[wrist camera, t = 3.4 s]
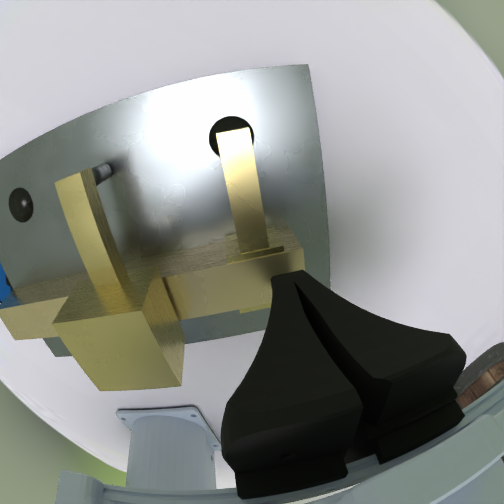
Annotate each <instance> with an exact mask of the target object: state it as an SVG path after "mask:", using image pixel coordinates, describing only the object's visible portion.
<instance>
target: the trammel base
mask: <svg viewBox="0 0 504 504" xmlns="http://www.w3.org/2000/svg"><path fill="white" fill-rule="evenodd" d="M103 163H105V164H108V165H109V166H110V168H111V176H110V178H109V179H107V180H106V181H104V182H102V183H101V184H99V185H98V186H97V190H98V193H99V196H100V199H101V203H102V206H103V209H104V212H105V215H106V218H107V221H108V224H109V227H110V229H111V232H112V235H113V238H114V240H115V243H116V246H117V249H118V251H119V254H120V256H121V259H122V261H123V264H124V266H125V269H126V271H130V270H134V269H139V268H144V267H149V266H153V265H157V267H158V270H159V273H160V275H161V278H162V281H163V283H164V286H165V289H166V291H167V294H168V296H169V299H170V301H171V304H172V306H173V309H174V311H175V314H176V316H177V318H178V321H179V323H180V326H181V328H182V330H183V333H184V335H185V344H189V343H195V342H201V341H207V340H213V339H219V338H224V337H230V336H235V335H240V334H245V333H250V332H255V331H260V330H265V329H266V327H267V324H268V319H269V315H270V310H271V302H272V286H271V280H270V279H271V278H272V276H275V275H280V274H284V273H289V272H294V271H298V270H304V271H306V272H307V273H308V274H310V275H311V276H312V277H313V278H315V279H316V280H317V281H319V282H320V283H321V284H323V285H324V286H326V287H327V288H328V289H330V262H329V239H328V221H327V207H326V194H325V183H324V172H323V162H322V153H321V145H320V137H319V129H318V122H317V115H316V108H315V101H314V95H313V89H312V83H311V77H310V71H309V66H308V64H305V65H288V66H276V67H266V68H257V69H249V70H242V71H236V72H229V73H223V74H218V75H213V76H208V77H203V78H198V79H194V80H189V81H185V82H181V83H177V84H173V85H169V86H165V87H162V88H158V89H155V90H151V91H148V92H145V93H142V94H138V95H135V96H132V97H129V98H126V99H124V100H121V101H118V102H115V103H113V104H110V105H107V106H105V107H102V108H100V109H97V110H95V111H92V112H90V113H87V114H85V115H83V116H80V117H78V118H76V119H74V120H71V121H69V122H67V123H65V124H63V125H61V126H59V127H57V128H55V129H53V130H51V131H49V132H47V133H45V134H43V135H41V136H39V137H38V138H36V139H34V140H32V141H30V142H29V143H27V144H25V145H23V146H22V147H20V148H18V149H17V150H15V151H13V152H12V153H10V154H9V155H7V156H5V157H4V158H2V159H1V160H0V263H1V265H2V267H3V269H4V271H5V274H6V276H7V278H8V280H9V282H10V284H11V286H12V288H13V290H12V291H11V292H10V293H9V295H8V296H7V297H6V298H5V299H4V301H3V302H2V303H1V304H0V318H1V319H2V321H3V322H4V324H5V326H6V327H7V329H8V330H9V332H10V333H11V335H12V336H13V338H14V339H15V340H23V339H37V338H43V340H44V341H45V343H46V344H47V346H48V347H49V348H50V350H51V351H52V353H53V354H54V355H55V357H63V356H72V354H71V353H70V351H69V350H68V348H67V347H66V346H65V344H64V343H63V341H62V340H61V338H60V337H59V335H58V334H57V332H56V330H55V329H54V327H53V326H52V322H53V320H54V319H55V317H56V315H57V314H58V312H59V311H60V309H61V307H62V306H63V304H64V303H65V301H66V300H67V298H68V296H69V295H70V293H71V292H72V290H73V289H74V287H75V286H76V284H77V283H78V282H79V281H84V280H88V279H90V276H89V274H88V272H87V270H86V268H85V265H84V263H83V261H82V258H81V256H80V254H79V251H78V249H77V246H76V244H75V241H74V239H73V236H72V234H71V231H70V228H69V226H68V223H67V220H66V217H65V214H64V212H63V209H62V206H61V203H60V199H59V196H58V193H57V190H56V187H55V182H57V181H59V180H61V179H63V178H65V177H67V176H69V175H72V174H74V173H77V172H79V171H82V170H85V169H87V168H90V167H91V168H93V167H96V166H98V165H100V164H103Z"/></svg>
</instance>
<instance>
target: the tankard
mask: <svg viewBox="0 0 504 504" xmlns="http://www.w3.org/2000/svg"><path fill="white" fill-rule="evenodd" d="M503 380H504V342H502V343H499V344H496V345H494V346H493V347H491V348H490V349H488V350H487V351H486V352H484V353H483V354H482V355H480V356H479V357H478V358H477V359H476V360H475V361H473V362H472V363H471V364H470V365H469V366H468V367H467V368H466V369H465V370H464V371H463V372H462V373H461V375H460V377H459V378H458V380H457V382H456V384H455V385H454V387H453V388H454V389H455V391H456V392H457V394H458V397H457V398H456V399H455V400H456V402H457V403H458V405H459V406H460V408H461V410H462V409H464V408H465V407H467V406H468V405H470V404H471V403H473V402H474V401H476V400H477V399H479V398H480V397H481V396H483V395H484V394H486V393H487V392H488V391H490V390H491V389H492V388H494V387H495V386H496V385H498V384H499V383H500V382H501V381H503ZM501 459H502V461H503V463H504V455H503V456H502V457H501Z"/></svg>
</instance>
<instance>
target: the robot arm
mask: <svg viewBox="0 0 504 504" xmlns="http://www.w3.org/2000/svg"><path fill="white" fill-rule="evenodd" d="M270 280H271V286H272V302H271V310H270V315H269V319H268V324H267V327H266V331H265V334H264V337H263V340H262V343H261V345H260V347H259V350H258V352H257V355H256V357H255V359H254V361H253V363H252V365H251V367H250V368H249V370H248V372H247V374H246V375H245V377H244V379H243V381H242V382H241V384H240V385H239V387H238V388H237V389H236V391H235V392H234V394H233V395H232V396H231V398H230V399H229V400H228V402H227V404H226V408H225V412H224V416H223V421H222V427H221V444H220V442H219V441H218V439H217V438H216V437H215V435H214V434H213V432H212V431H211V429H210V428H209V426H208V425H207V423H206V422H205V420H204V419H203V417H202V416H201V414H200V412H199V411H198V409H197V408H195V407H183V408H171V409H156V410H119V411H117V412H116V416H117V417H118V418H119V419H120V420H121V421H122V422H123V423H124V424H125V425H126V426H127V427H128V428H129V429H130V430H131V431H132V435H131V442H130V450H129V458H128V467H127V477H126V487H121V486H114V485H107V484H103V483H102V482H101V481H99V480H98V479H96V478H94V477H92V476H89V475H86V474H82V473H77V472H72V471H68V470H64V469H63V470H61V472H60V477H59V482H58V488H57V494H56V501H55V504H284V503H289V502H294V501H299V500H303V499H308V498H312V497H316V496H319V495H323V494H327V493H331V492H334V491H337V490H340V489H343V488H347V487H350V486H353V485H356V484H358V485H356V486H354V487H352V488H351V489H348V490H345V491H342V492H340V493H337V494H334V495H331V496H328V497H325V498H322V499H319V500H316V501H312V502H309V503H306V504H504V463H503V461H502V459H501V457H502V456H503V455H504V380H503V381H501V382H500V383H499V384H498V385H496V386H495V387H494V388H492V389H491V390H490V391H488V392H487V393H486V394H484V395H483V396H481V397H480V398H479V399H477V400H476V401H474V402H473V403H471V404H470V405H468V406H467V407H465V408H464V409H462V410H461V408H460V406H459V405H458V403H457V402H456V400H455V399H456V398H457V397H458V394H457V392H456V391H455V389H454V388H453V387H454V385H455V384H456V382H457V380H458V378H459V377H460V375H461V373H462V371H463V369H464V366H465V364H466V357H467V356H466V354H465V352H464V351H463V349H462V348H461V347H460V346H459V344H458V343H457V342H456V341H455V340H454V338H453V337H452V336H451V335H450V334H446V333H440V332H433V331H427V330H422V329H418V328H414V327H410V326H406V325H403V324H399V323H396V322H393V321H390V320H388V319H385V318H382V317H380V316H377V315H375V314H372V313H370V312H368V311H366V310H364V309H362V308H360V307H358V306H356V305H354V304H352V303H350V302H349V301H347V300H345V299H344V298H342V297H340V296H339V295H337V294H336V293H334V292H333V291H331V290H330V289H328V288H327V287H326V286H324V285H323V284H321V283H320V282H319V281H317V280H316V279H315V278H313V277H312V276H311V275H310V274H308V273H307V272H306V271H304V270H298V271H294V272H289V273H284V274H280V275H275V276H272V278H271V279H270ZM220 450H222V456H223V459H224V460H225V461H226V462H227V463H228V465H229V466H230V467H231V468H232V470H233V471H234V472H235V479H236V488H227V489H216V476H215V462H214V451H220ZM361 482H362V483H361ZM359 483H360V484H359Z"/></svg>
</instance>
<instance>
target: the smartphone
mask: <svg viewBox="0 0 504 504" xmlns="http://www.w3.org/2000/svg"><path fill="white" fill-rule="evenodd" d="M12 290H13V288H12V286H11V284H10V282H9V280H8V278H7V276H6V274H5V271H4V269H3V267H2V265H1V263H0V303H2V302H3V301H4V299H5V298H6V297H7V296H8V295H9V293H10V292H11V291H12Z"/></svg>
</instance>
